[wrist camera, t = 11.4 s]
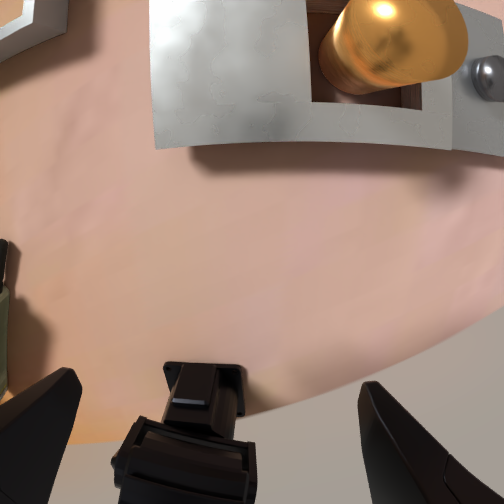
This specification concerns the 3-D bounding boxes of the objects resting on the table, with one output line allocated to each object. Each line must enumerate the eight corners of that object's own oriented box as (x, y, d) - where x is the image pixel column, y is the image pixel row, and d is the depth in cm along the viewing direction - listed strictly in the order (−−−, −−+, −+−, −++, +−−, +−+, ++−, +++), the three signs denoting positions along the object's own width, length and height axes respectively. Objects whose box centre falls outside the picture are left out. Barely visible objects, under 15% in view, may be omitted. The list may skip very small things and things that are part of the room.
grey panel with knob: (495, 154, 17) (521, 161, 14) (172, 144, 18) (155, 149, 16) (489, 23, 13) (513, 16, 10) (166, -3, 15) (150, -20, 12)
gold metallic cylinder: (390, 97, 16) (472, 90, 8) (319, 92, 17) (360, 71, 9) (386, 31, 15) (459, -15, 6) (315, 24, 15) (348, -41, 7)
